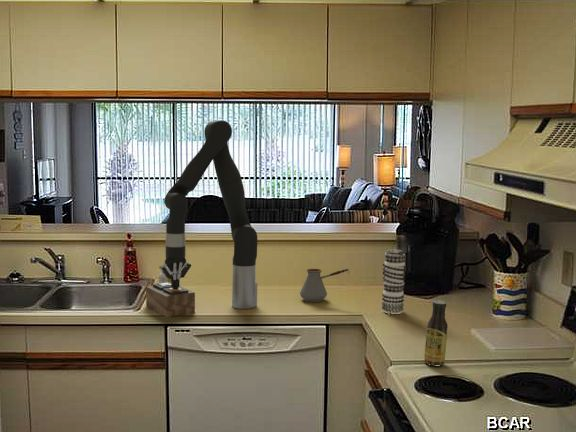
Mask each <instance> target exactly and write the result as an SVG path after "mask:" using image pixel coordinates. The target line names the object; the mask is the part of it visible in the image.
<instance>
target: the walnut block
mask: <svg viewBox="0 0 576 432" xmlns="http://www.w3.org/2000/svg"><path fill="white" fill-rule="evenodd" d="M165 283H169V284H171V282H165ZM158 284H161V283H159V282H158V283H157V282H156V283H152V285H150V286H145V293H146V294H145V299H146V300H145V303H146V304H145V306H147V308H149V309H150V310H152V311H154V312H155V313H157V314H160V315H161V316H163V317H166V318H170V317H176V316H182V315H183V316H184V315H189V314H190V315H191V314H195V313H196V292H195V291H193V290H191V289H189V288H185V287H183V286H181V285H180V286H179V288H181V289H183V290H180V291H170V290H168V288H172V287H171V286H164V287H162V286H160V285H158Z"/></svg>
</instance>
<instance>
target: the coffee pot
mask: <svg viewBox="0 0 576 432" xmlns="http://www.w3.org/2000/svg"><path fill="white" fill-rule="evenodd" d="M306 272H307V276H306V278H305V279H304V280H305V281H304V283H303V285H302V286H301V289H300V291H299V295H300V297H301V298H302V299H303V300H304V301H305V300H306V301H305V302H308V301H309V303H320V301H321V302H323V300H324V299H326V298H327V296H328V291H327V289H326V287H325V284H324V282H323V280H322V279H325V278H328V277H333V276H337V275H339V274H342V273H345V272H347V274H348V275H350V273H351V272H350V270H349V268H345V269H342V270H337V271H335V272H332V273H329V274H327V275H322V276H321V274H322V272H323V271H322V269H320V268H308V269H306Z"/></svg>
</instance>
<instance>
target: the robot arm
mask: <svg viewBox="0 0 576 432" xmlns="http://www.w3.org/2000/svg"><path fill="white" fill-rule="evenodd" d="M203 130H204V138H205V141H204V143H203V145H202V146H201V148H200V149H199V150H198V152H197V153H196V155H194V156H193V158H192V159H191V160H190V161H189V162H188V164H187V165H186V166H185V168H184V170H183V171H182V172H181V175H180V176H179V177H178V180H177V181H176V182H175V183H174V184H173V186H171V188H170V189H169V190H168V191H167V193H166V195H165V197H164V199H163V201H164V206H165V207H166V208H167V209H168V210H169V213H168V214H169V215H168V218H167V219H166V223H165V224H166V225H165V228H166V229H165V232H166V233H165V242H164V243H165V260H164V263H163V265H160V266H159V270H160V271H161V272H163V273H164V275H165V276H166V277H167V278H169V279H171V287H172V288H173V289H178V287H179V286H181V285H180V283H181V282H180V281H181V280H180V279H181V278H185V276H186V274H187V273H188V272H189V271H190V269H191V267H192V264H191V263H189V262H187V259H186V218H187V213H188V200H187V196H188V194H190V192H193V191H194V190H195V189H196V187H197V186H198V184H199V182H200V181H201V179H202V178H203V175H204V174H205V173H206V171H207V169H208V168H209V166H210V165H211V163H212V162H213V166H214V170H215V174H216V175H215V176H216V178H217V184H218V187H219V191H220V194H221V197H222V200H223V203H224V206H225V208H226V209H225V210H226V211H227V215H228V218H229V219H228V220H229V224H230V232H231V238H232V241H233V242H234V243H233V249H234V250H233V255H232V273H231V274H232V283H231V284H232V285H231V286H232V288H231V291H232V292H231V294H232V295H231V302H232V303H231V307H233V308H234V309H240V310H241V309H242V310H249V309H252V308H255V307H258V282H256V273H257V272H256V269H257V268H256V266H257V257H258V233H257V231H256V229H255V228H254V227H253V226H252V224H251V222H250V219H249V215H248V213H247V209H246V194H245V188H244V183H243V179H242V176H241V173H240V171H239V169H238V166H237V165H236V163H235V161H234V160H233V158H232V155H231V153H230V149H229V143H228V142H229V141H230V139H231V138H232V134H233V128H232V126H231V124H230V123H229V122H227V121H226V120H223V119H218V120H212V121H211V120H210V121H209V122H208V123H207V124H205V128H204V129H203ZM167 267H168V269H169V270H170V273H169V272H168V271H167Z"/></svg>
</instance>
